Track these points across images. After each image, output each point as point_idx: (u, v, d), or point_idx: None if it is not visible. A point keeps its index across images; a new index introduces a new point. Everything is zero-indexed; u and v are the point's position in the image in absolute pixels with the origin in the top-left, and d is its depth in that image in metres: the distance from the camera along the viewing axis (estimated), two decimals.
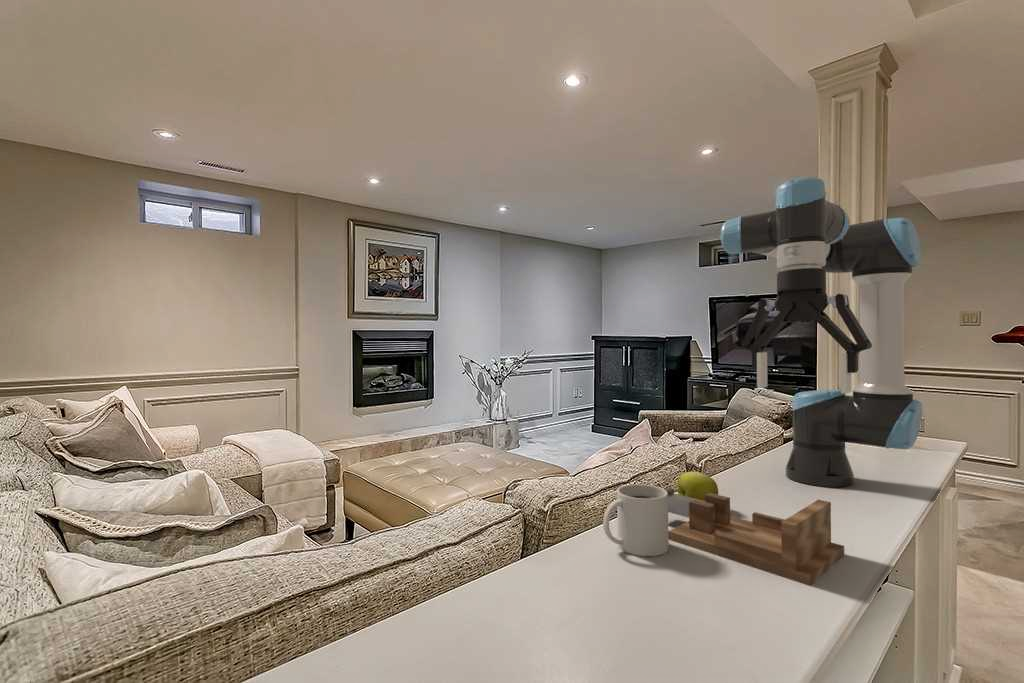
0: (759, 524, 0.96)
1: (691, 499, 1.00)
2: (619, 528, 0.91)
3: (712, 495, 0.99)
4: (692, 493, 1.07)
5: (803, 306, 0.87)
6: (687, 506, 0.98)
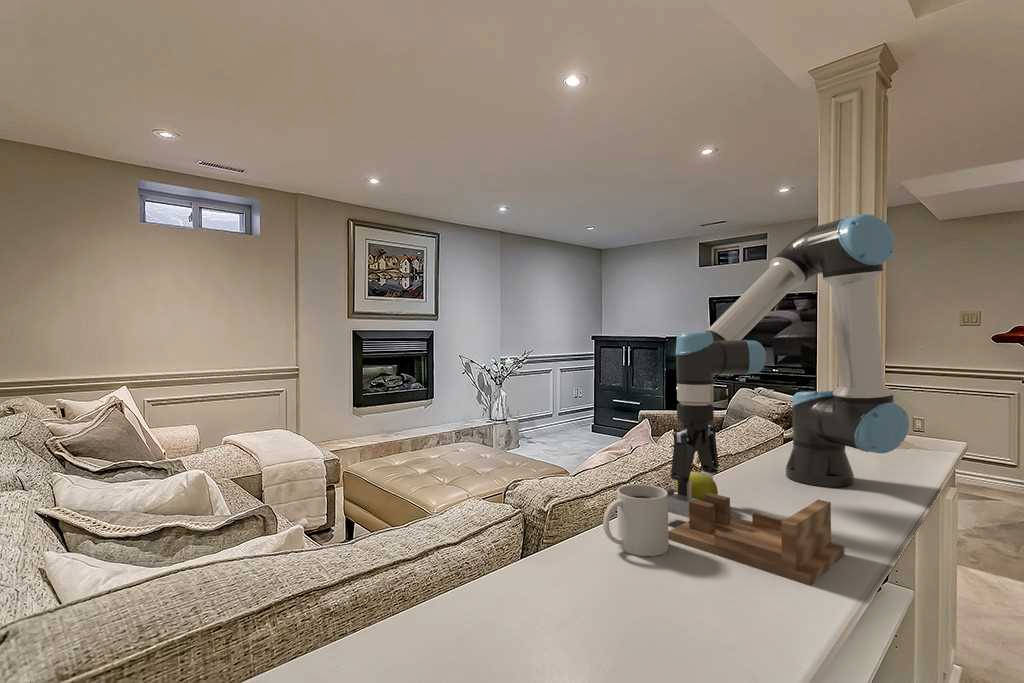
0: (759, 524, 0.96)
1: (691, 499, 1.00)
2: (619, 528, 0.91)
3: (712, 495, 0.99)
4: (692, 494, 1.07)
5: None
6: (687, 506, 0.98)
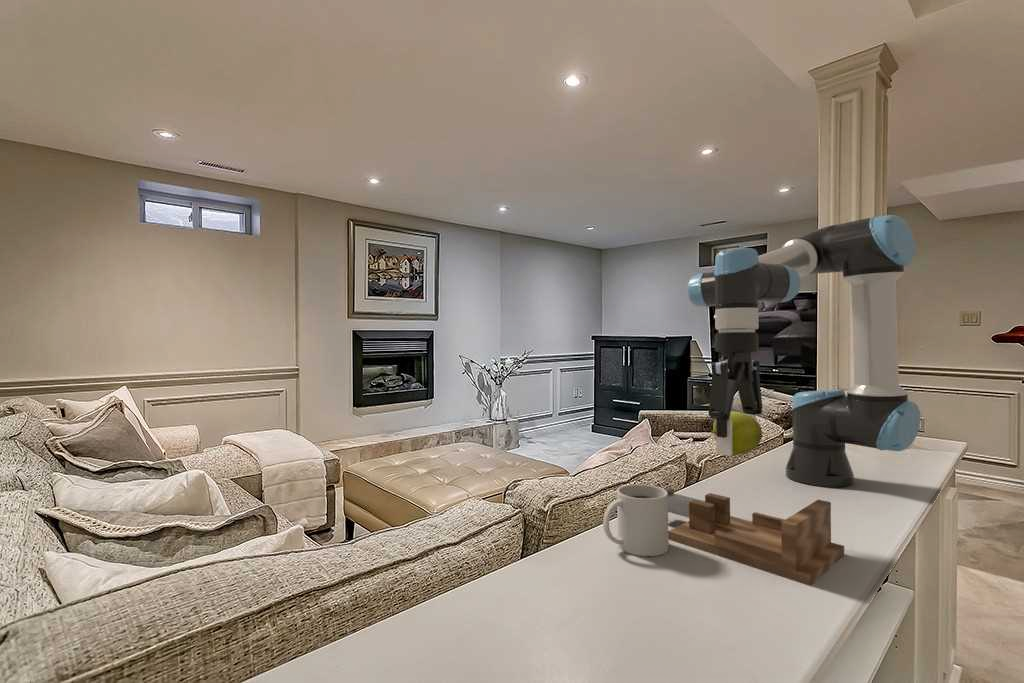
0: (759, 524, 0.96)
1: (691, 499, 1.00)
2: (619, 528, 0.91)
3: (712, 495, 0.99)
4: (732, 434, 0.92)
5: None
6: (687, 506, 0.98)
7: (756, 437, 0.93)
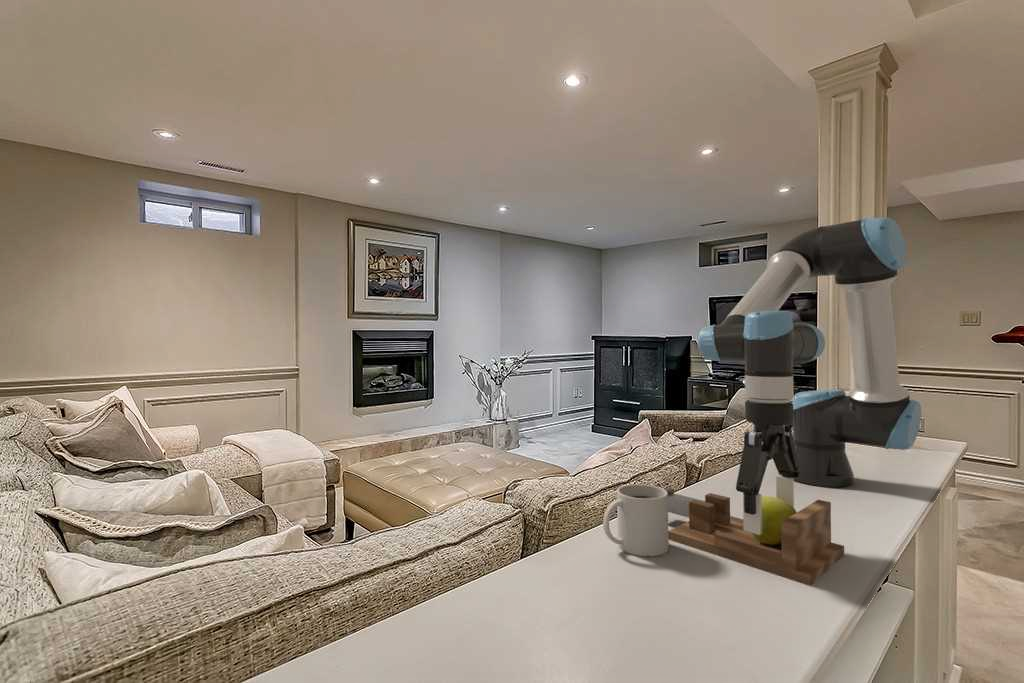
0: None
1: (691, 499, 1.00)
2: (619, 528, 0.91)
3: (712, 495, 0.99)
4: (769, 525, 0.85)
5: None
6: (687, 506, 0.98)
7: None
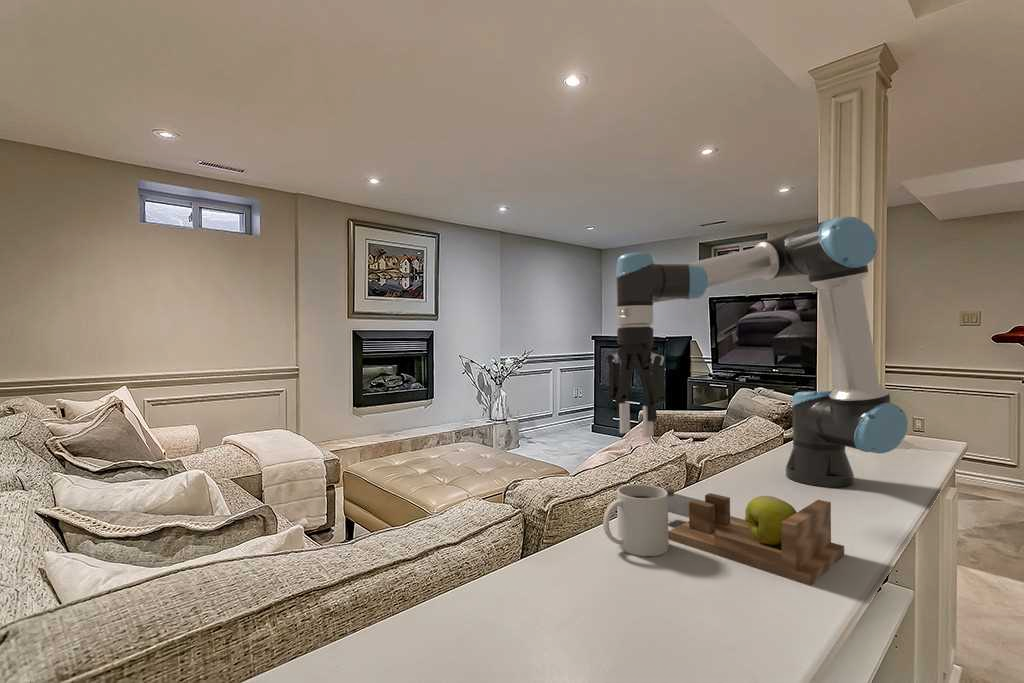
0: None
1: (691, 499, 1.00)
2: (619, 528, 0.91)
3: (712, 495, 0.99)
4: (769, 525, 0.85)
5: (633, 357, 1.07)
6: (687, 506, 0.98)
7: None
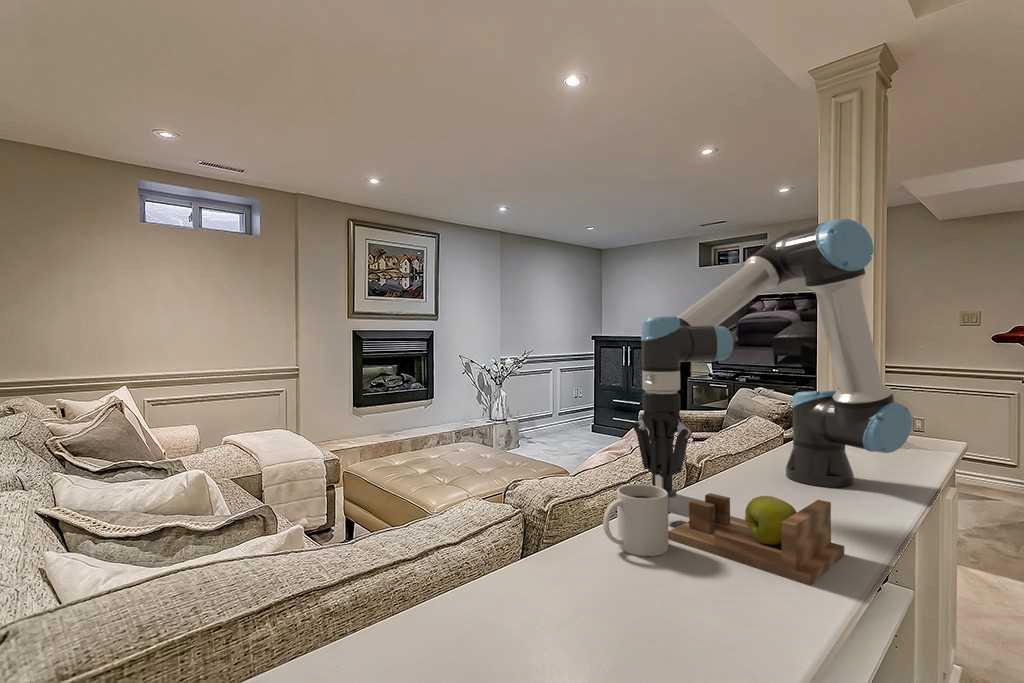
0: None
1: None
2: (619, 528, 0.91)
3: (712, 495, 0.99)
4: (769, 525, 0.85)
5: (660, 424, 1.02)
6: None
7: None
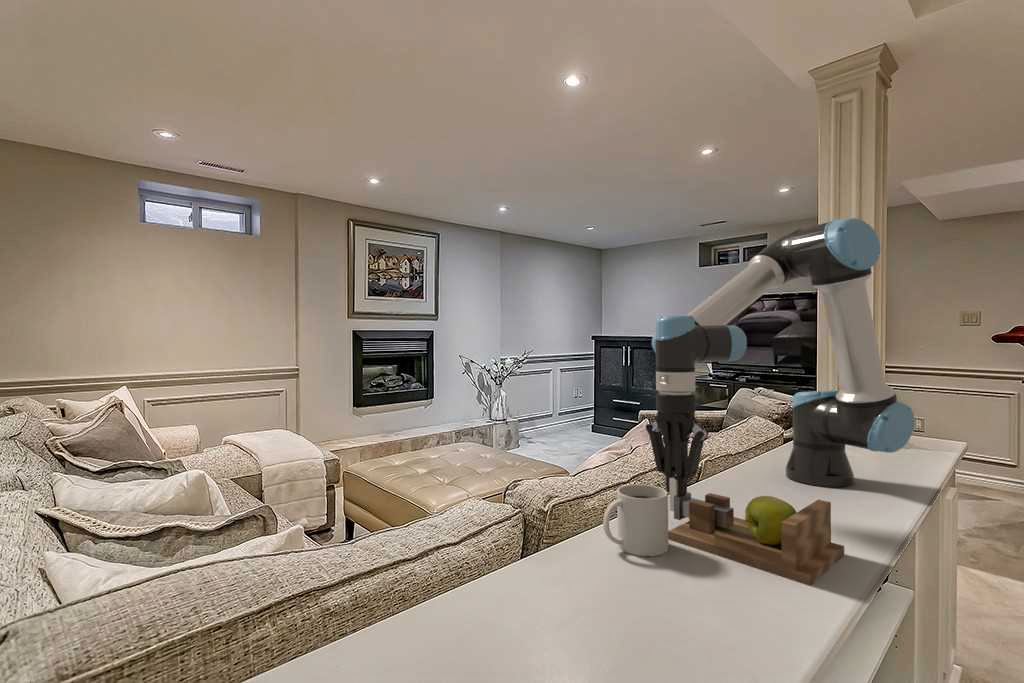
0: None
1: None
2: (619, 528, 0.91)
3: (712, 495, 0.99)
4: (769, 525, 0.85)
5: (674, 426, 1.00)
6: None
7: None
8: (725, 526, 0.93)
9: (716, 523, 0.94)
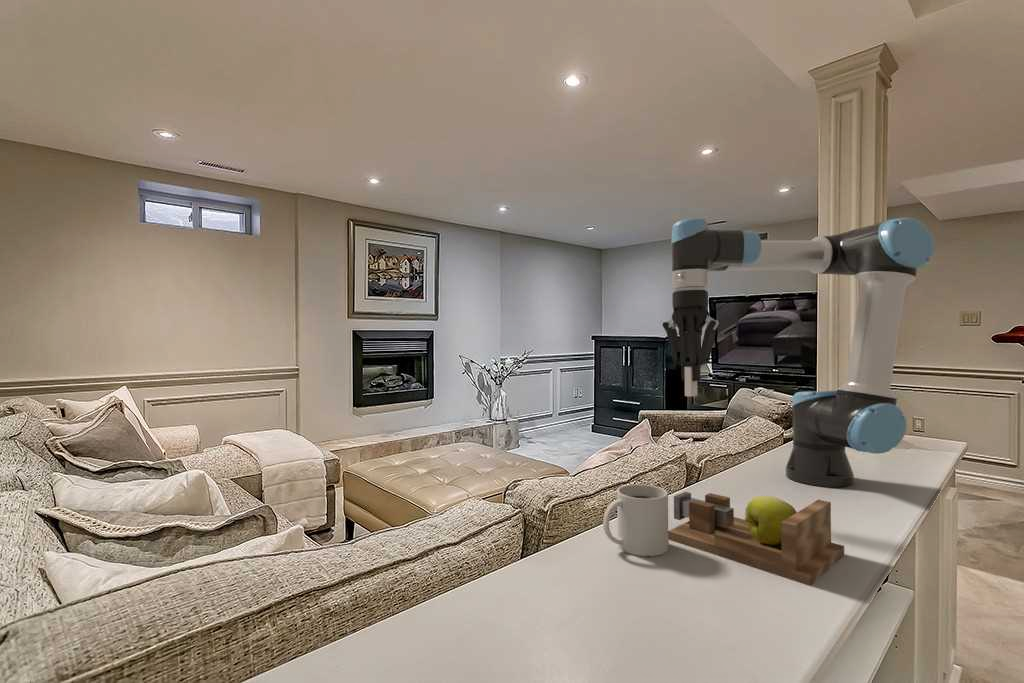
0: None
1: None
2: (619, 528, 0.91)
3: (712, 495, 0.99)
4: (769, 525, 0.85)
5: (689, 318, 1.11)
6: None
7: None
8: (725, 526, 0.93)
9: (716, 523, 0.94)
